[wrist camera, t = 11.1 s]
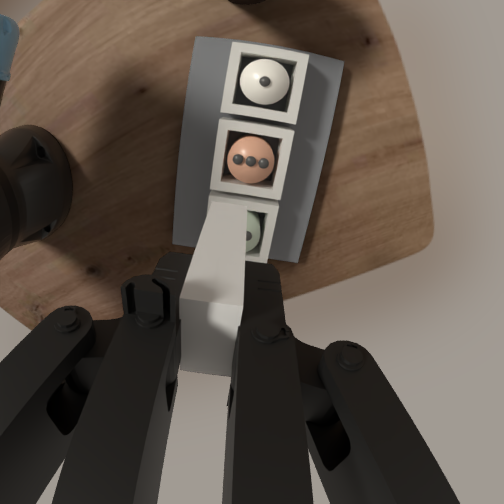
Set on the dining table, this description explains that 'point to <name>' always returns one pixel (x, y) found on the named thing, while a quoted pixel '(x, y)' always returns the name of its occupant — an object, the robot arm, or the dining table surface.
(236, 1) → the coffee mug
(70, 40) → the dining table surface
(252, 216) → the button two
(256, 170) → the button three
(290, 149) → the button board
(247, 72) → the button one
